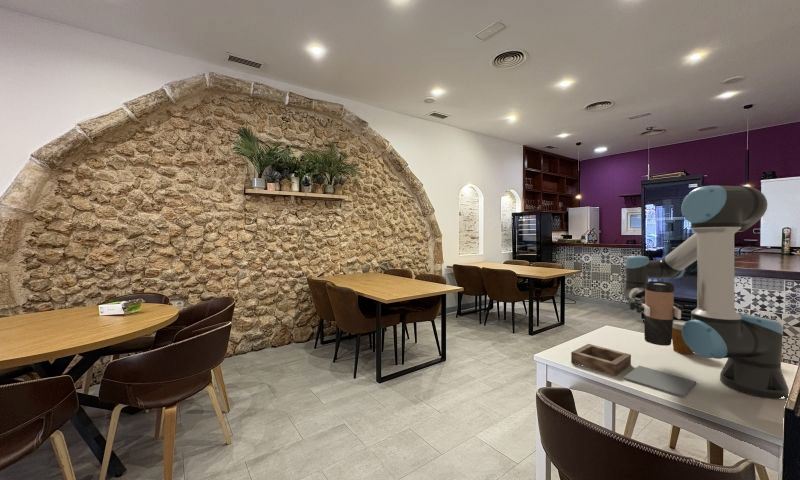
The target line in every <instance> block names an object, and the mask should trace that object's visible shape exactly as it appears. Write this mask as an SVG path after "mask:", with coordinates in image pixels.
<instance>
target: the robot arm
mask: <svg viewBox="0 0 800 480" xmlns="http://www.w3.org/2000/svg"><path fill="white" fill-rule="evenodd" d="M680 206H681V207H680V208H681V209H680V211H681V215H682V217H683V218H684V220H685V221H686V222H689V223H690V230H692V231H693V232H694V233H693V234H692V235H690V236H689V237H688V238H687V239H686V240H684V241H683V242H682V243H680V244H679V245H678V246H677V247H675V248H674V249H673V250H672V251H671V252H669V253H668V254H666V255H665V256H663V258H661V259H660V260H650V258H649V257H648V256H644V255H629V256H627V257H626V262H625V283H624V284H625V285H624V287H623V288H622V293H623V295H624V298H625V301H626V302H625V303H626V305H628V307H629V310H632V311H634V310H635V309H636V313H638V314H641V313H643V314H645V315H646V316H650V308H649V307H648V306H647V305H645V289H646V282H647V283H648V282H649V280H653V279H654V280H655V279H657V280H658V279H661V280H662V279H663V280H664V279H666V280H667V279H668V280H674V279H680V278H682V277H683V276H684V273H686V268H688V267H689V266H690V265H692V264H693V263H694V262H696V261H697V262H696V264H697V265H696V266H697V267H696V272H697V273H696V275H697V277H696V280H697V282H696V284H697V286H696V287H697V288H696V290H697V297H696V298H697V301H696V302H697V303H696V304H697V305H696V308H695V309H693V310H692V311H691V312H690V314H691V315H690V318H691V319H690V320H687V322H686V323H685V324H684V325H683V326H682V337H683V339H684V341H685V343H686V345H687V346H689V348H690V349H691V350H692V351H693V354H696V355H698V356H700V357H702V358H706V359H715V360H716V359H719V360H722V359H727V360H726V362H725V364H724V366H723V367H722V369H721V371H720V374H719V381H720V382H721V383H722V384H723V385H725V386H726V387H728V388H730V389H733V390H735V391H738V392H741V393H744V394H746V395H747V394H748V395H750V396H755V397H759V398H763V399H764V398H765V399H770V400H771V399H772V400H773V399H774V400H780V399H779V398H781V397H783V396H784V397H785V399H787V397H788V398H789V396H788V394H789V393H790V391H789V386H788V385H787V381H786V379H785V377H784V374H783V372H782V350H783V336H784V333H783V326H782V324H781V322H778V321H777V320H773V319H769V318H765V317H761V316H756V315H750V314H745V313H739V312H738V313H737V312H736V311H735V307H736V305H735V298H736V297H735V294H736V293H735V292H736V291H735V234H736V233H738V232H740V233H741V232H744V231H746V230H748V229H749V228H752V226H754V225H755V224H756V223H757V222H758V221H760V220H761V219H762V217H764V216H765V214H766V212H767V210H768V200H767V198H766V196H765V195H764V193H763V192H762V191H761V190H758V189H756V188H755V187H751V186H746V185H745V186H744V185H737V186H735V185H718V184H717V185H716V184H715V185H705V186H700V187H696V188H694V189H693V190H691V191H690V192H689V193H688V194H687V195H685V197H684V199H683V201H682V203H681V205H680ZM683 307H684V306H682V305H680V304H678V303H675V302H674V305H673V317H675V318H676V319H677V320H681V319H682V314H683V312H684V311H683V309H684V308H683ZM789 395H790V394H789Z"/></svg>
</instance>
